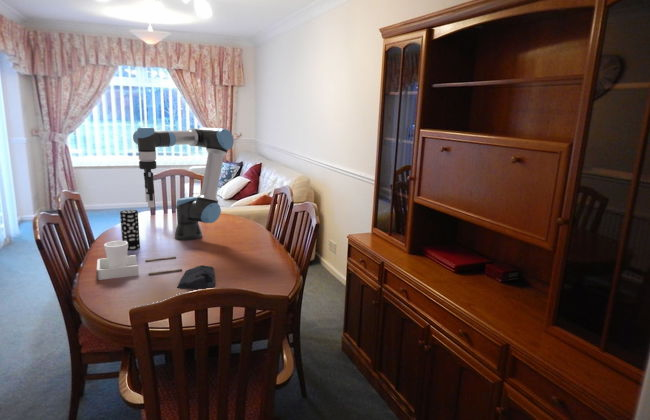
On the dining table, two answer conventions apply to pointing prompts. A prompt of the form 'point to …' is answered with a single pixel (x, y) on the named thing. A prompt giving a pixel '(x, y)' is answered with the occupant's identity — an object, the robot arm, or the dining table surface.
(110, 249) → the foam cup
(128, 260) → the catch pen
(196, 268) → the dark slate chunk
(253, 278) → the dining table surface
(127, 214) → the white-spotted black cylinder
